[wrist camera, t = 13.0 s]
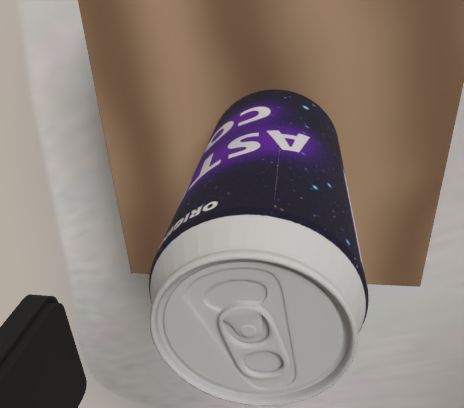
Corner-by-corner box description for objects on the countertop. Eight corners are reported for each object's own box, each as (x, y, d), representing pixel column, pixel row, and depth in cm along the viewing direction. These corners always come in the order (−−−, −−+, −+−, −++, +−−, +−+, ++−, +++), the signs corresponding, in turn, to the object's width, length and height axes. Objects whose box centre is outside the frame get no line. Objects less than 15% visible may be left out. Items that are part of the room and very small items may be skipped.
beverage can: (319, 65, 19) (343, 212, 8) (349, 181, 21) (397, 404, 11) (196, 105, 20) (91, 270, 10) (238, 208, 23) (187, 426, 12)
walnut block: (434, -61, 23) (494, -64, 16) (392, 210, 31) (419, 286, 24) (132, -46, 25) (69, -42, 18) (166, 204, 33) (131, 272, 26)
